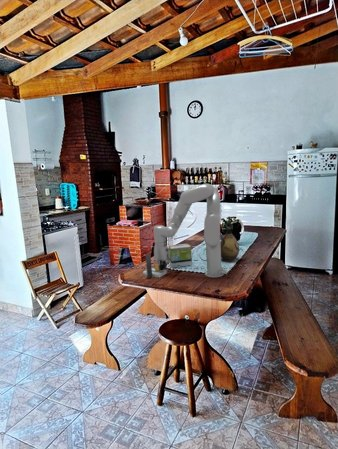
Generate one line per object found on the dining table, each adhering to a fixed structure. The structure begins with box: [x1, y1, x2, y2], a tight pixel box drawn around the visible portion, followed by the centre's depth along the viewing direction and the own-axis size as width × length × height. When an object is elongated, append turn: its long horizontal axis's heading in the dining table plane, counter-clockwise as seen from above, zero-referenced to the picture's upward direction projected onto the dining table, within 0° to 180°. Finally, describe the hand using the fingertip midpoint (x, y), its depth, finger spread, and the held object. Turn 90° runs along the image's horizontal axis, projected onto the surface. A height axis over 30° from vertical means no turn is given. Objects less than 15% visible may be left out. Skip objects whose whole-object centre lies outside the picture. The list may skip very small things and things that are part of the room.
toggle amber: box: [154, 263, 160, 271], centre depth 212 cm, size 3×3×4 cm
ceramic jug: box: [221, 219, 240, 263], centre depth 228 cm, size 17×15×30 cm
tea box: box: [168, 243, 193, 269], centre depth 225 cm, size 15×10×15 cm
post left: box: [145, 253, 153, 279], centre depth 204 cm, size 3×3×16 cm
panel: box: [142, 267, 168, 279], centre depth 212 cm, size 14×9×3 cm, turn 56°
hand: (162, 269), depth 210 cm, fingers closed
